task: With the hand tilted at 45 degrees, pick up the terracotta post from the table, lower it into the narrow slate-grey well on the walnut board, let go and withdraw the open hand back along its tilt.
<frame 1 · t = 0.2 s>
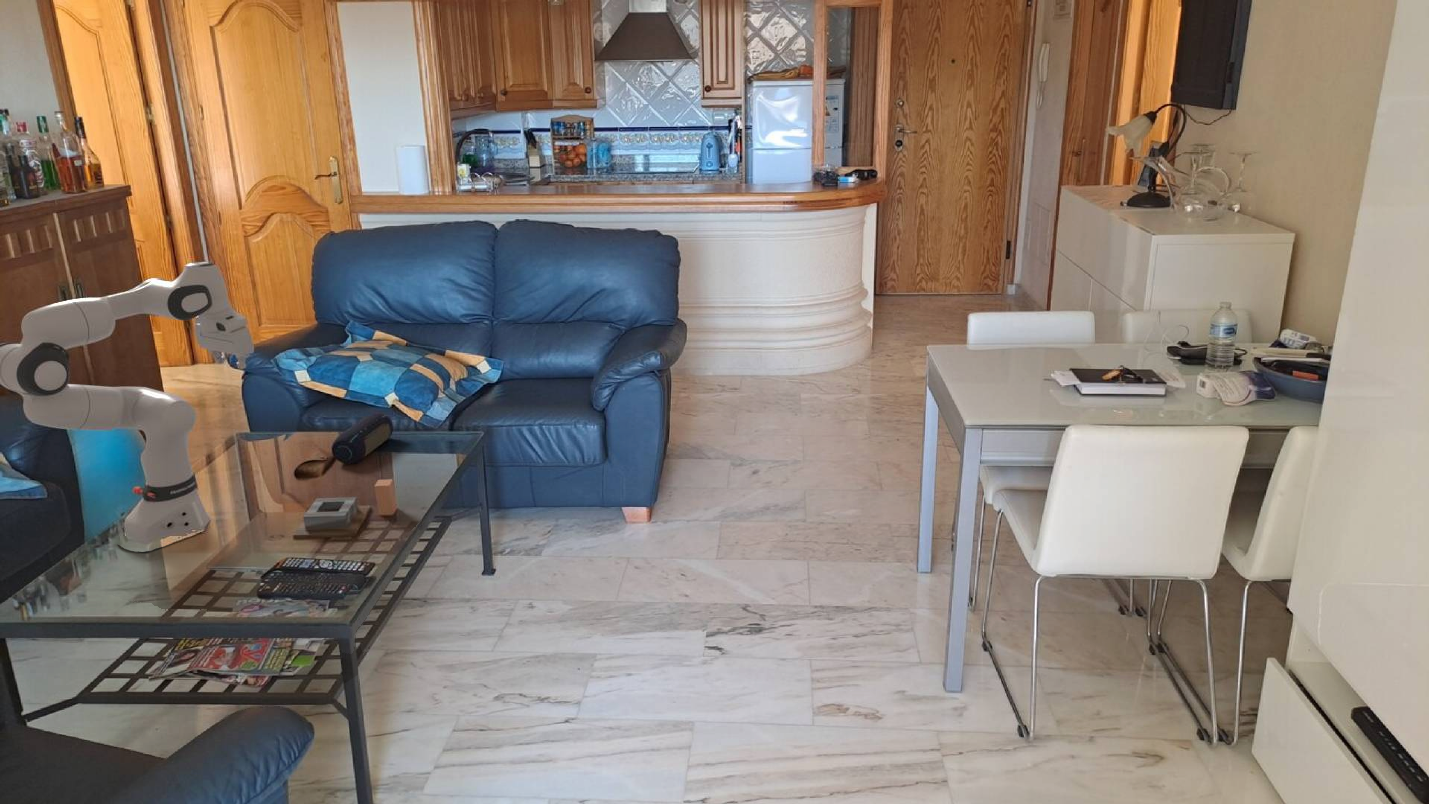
hand: (231, 365, 271), 39 cm above the table, tool pointing down, fingers open, 8 cm apart
sunglasses case: (318, 467, 302), on the table
post: (388, 511, 272), on the table
well: (333, 523, 266), on the table
portable speaker: (366, 452, 312), on the table
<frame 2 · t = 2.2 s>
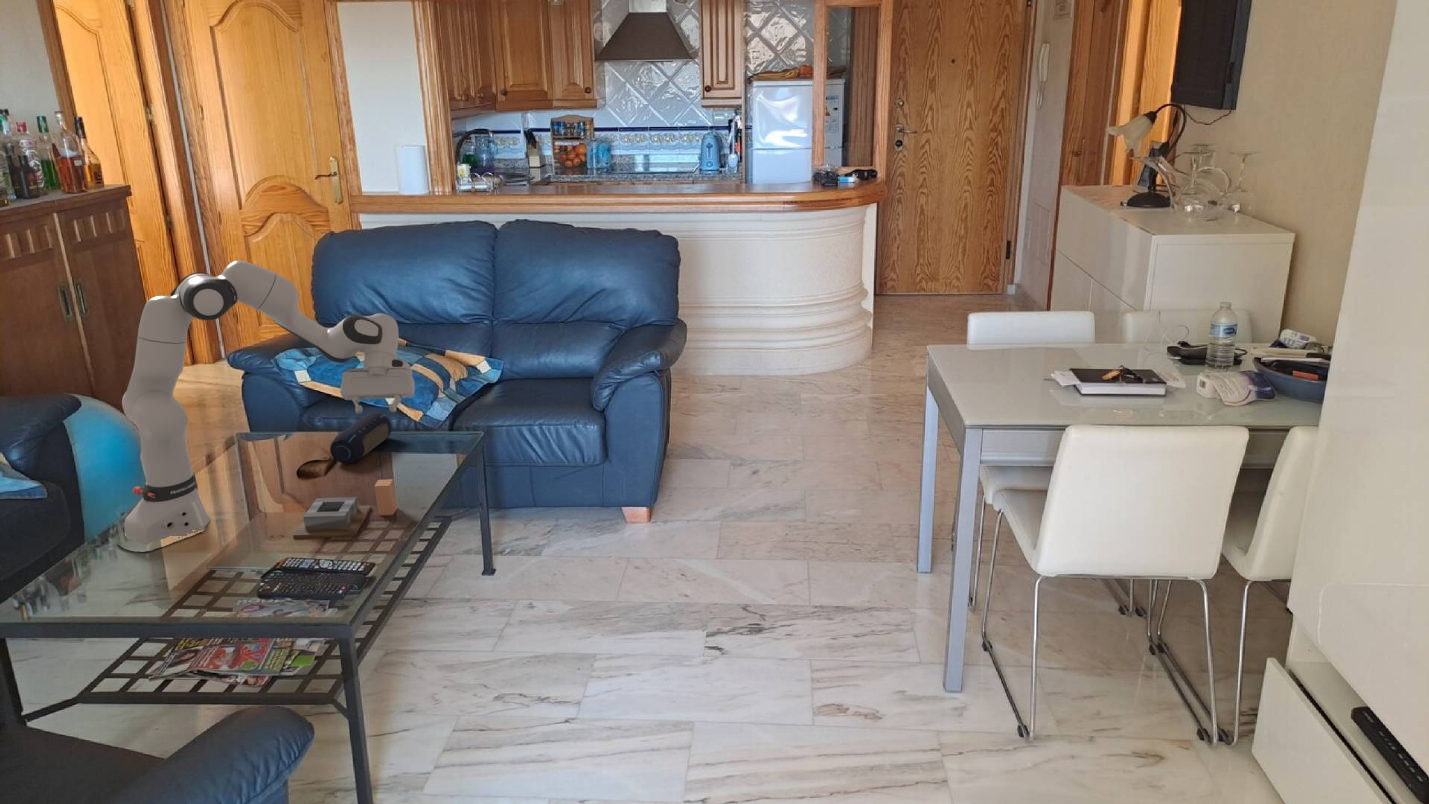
hand: (375, 411, 274), 25 cm above the table, tool tilted 45°, fingers open, 8 cm apart
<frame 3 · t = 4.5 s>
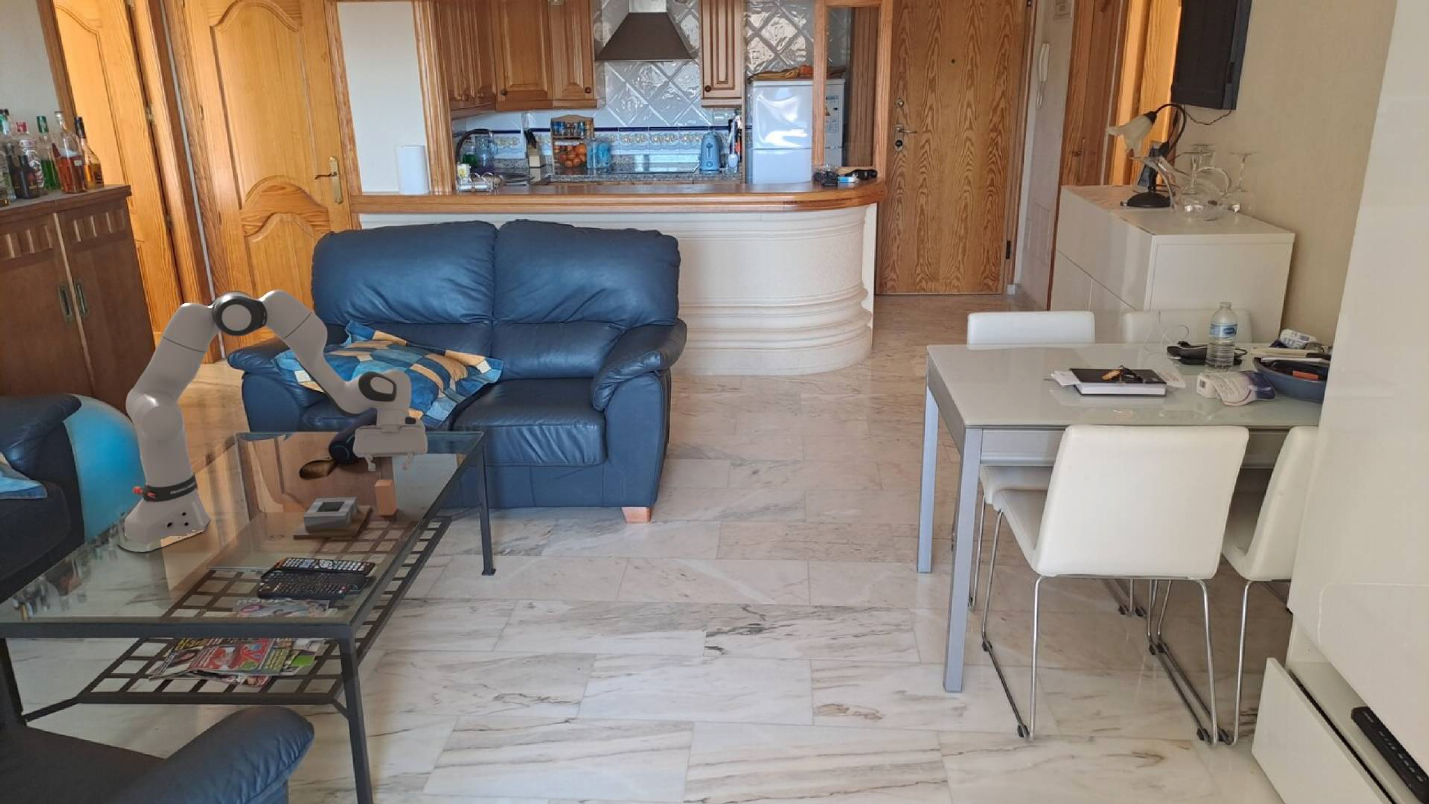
hand: (388, 469, 274), 10 cm above the table, tool tilted 45°, fingers open, 8 cm apart
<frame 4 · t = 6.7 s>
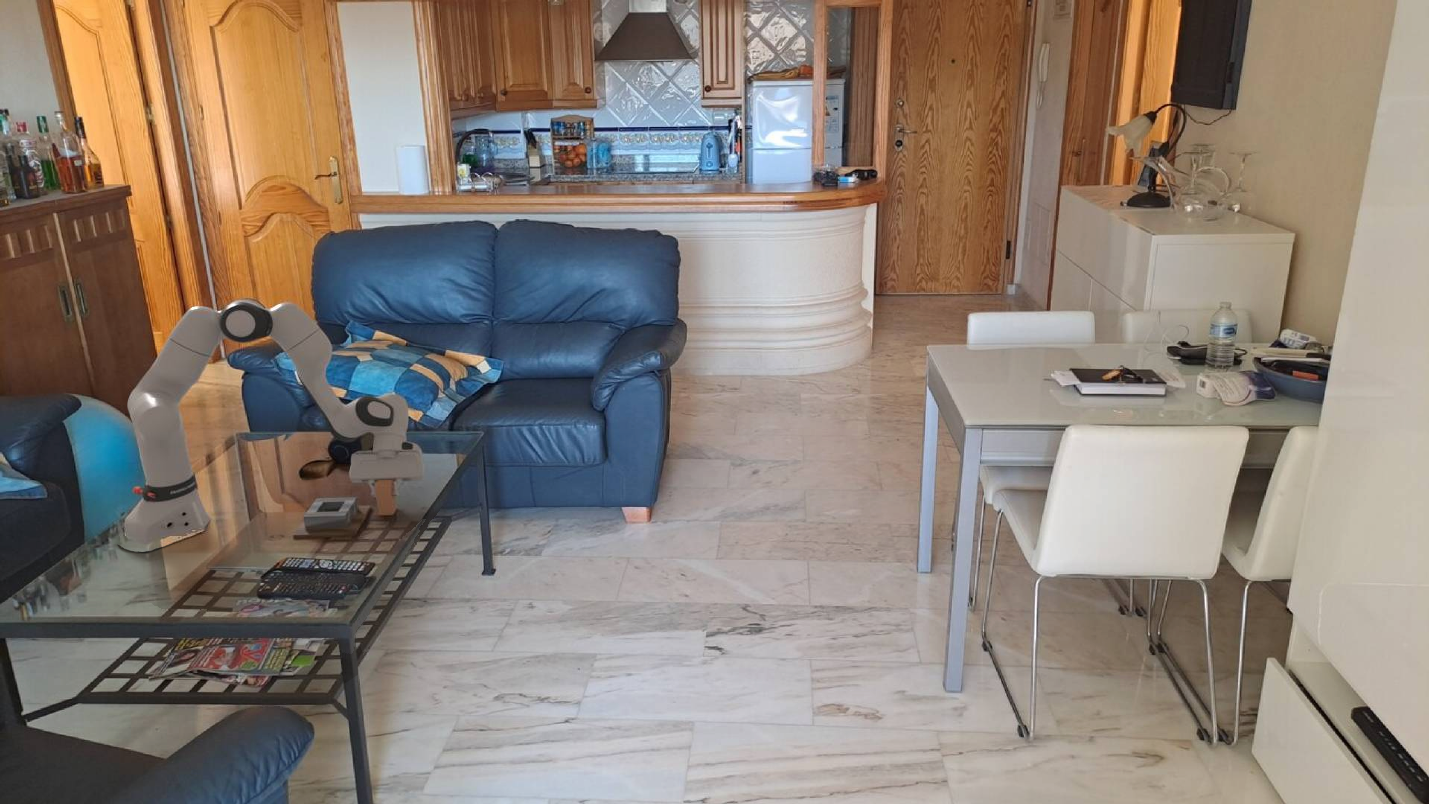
hand: (384, 496, 269), 5 cm above the table, tool tilted 45°, fingers closed on post, 4 cm apart
post: (388, 511, 272), on the table, touching gripper
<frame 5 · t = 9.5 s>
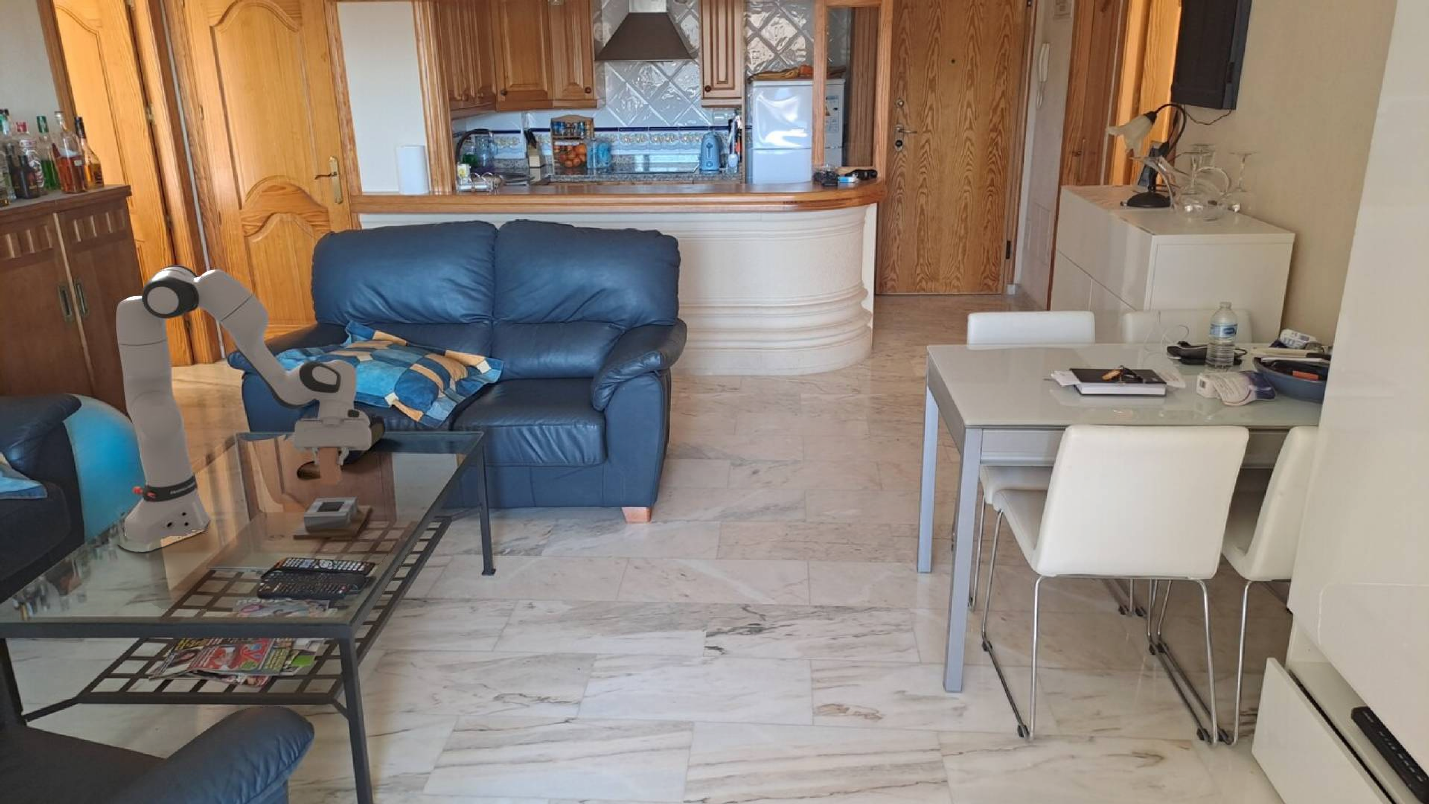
hand: (328, 464, 260), 18 cm above the table, tool tilted 45°, fingers closed on post, 4 cm apart
post: (331, 481, 262), point 12 cm above the table, touching gripper
when the fingers open (8 cm above the table, at t = 12.6 s): post drops 2 cm, resting on well.
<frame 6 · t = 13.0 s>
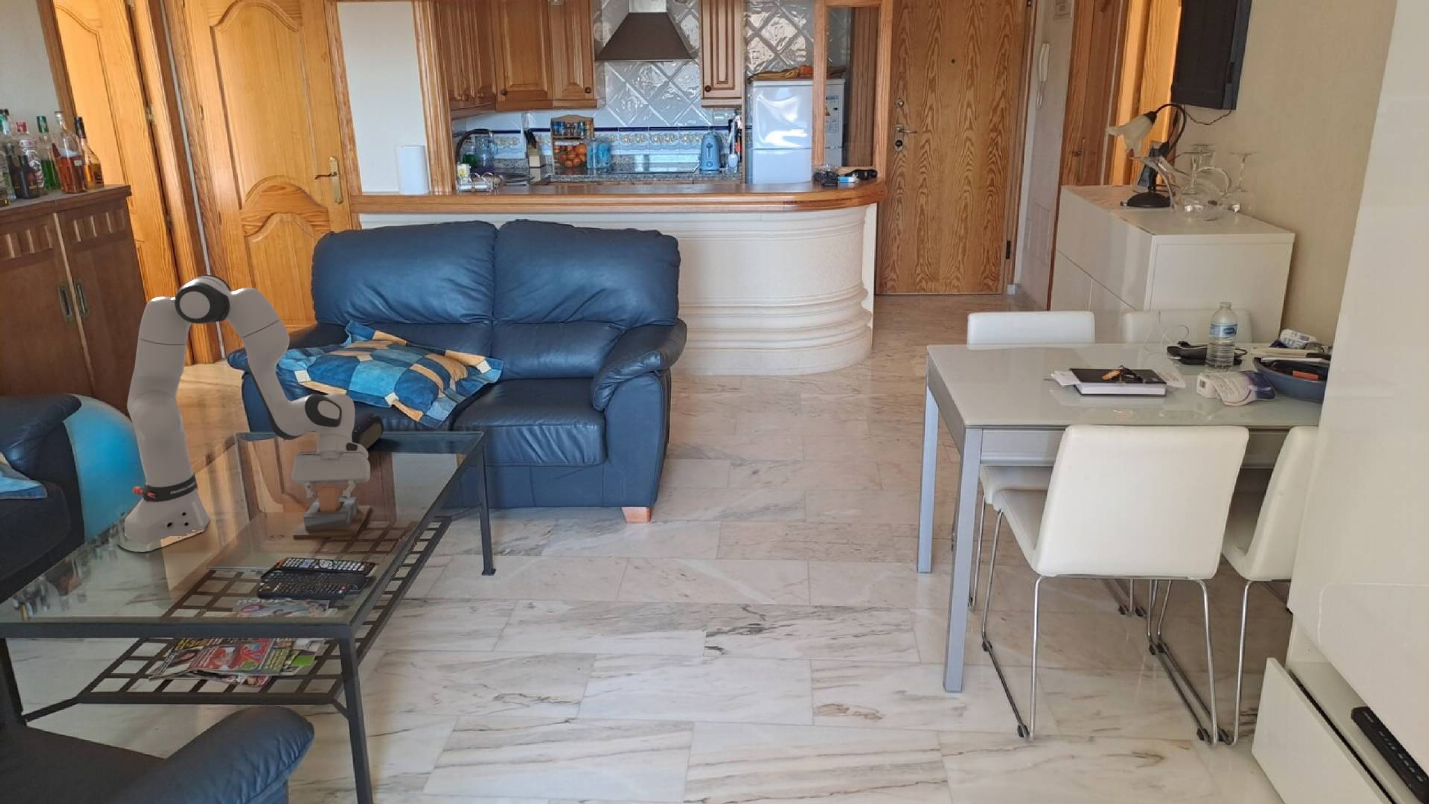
hand: (328, 498, 262), 8 cm above the table, tool tilted 45°, fingers open, 8 cm apart
post: (332, 519, 265), point 1 cm above the table, touching well
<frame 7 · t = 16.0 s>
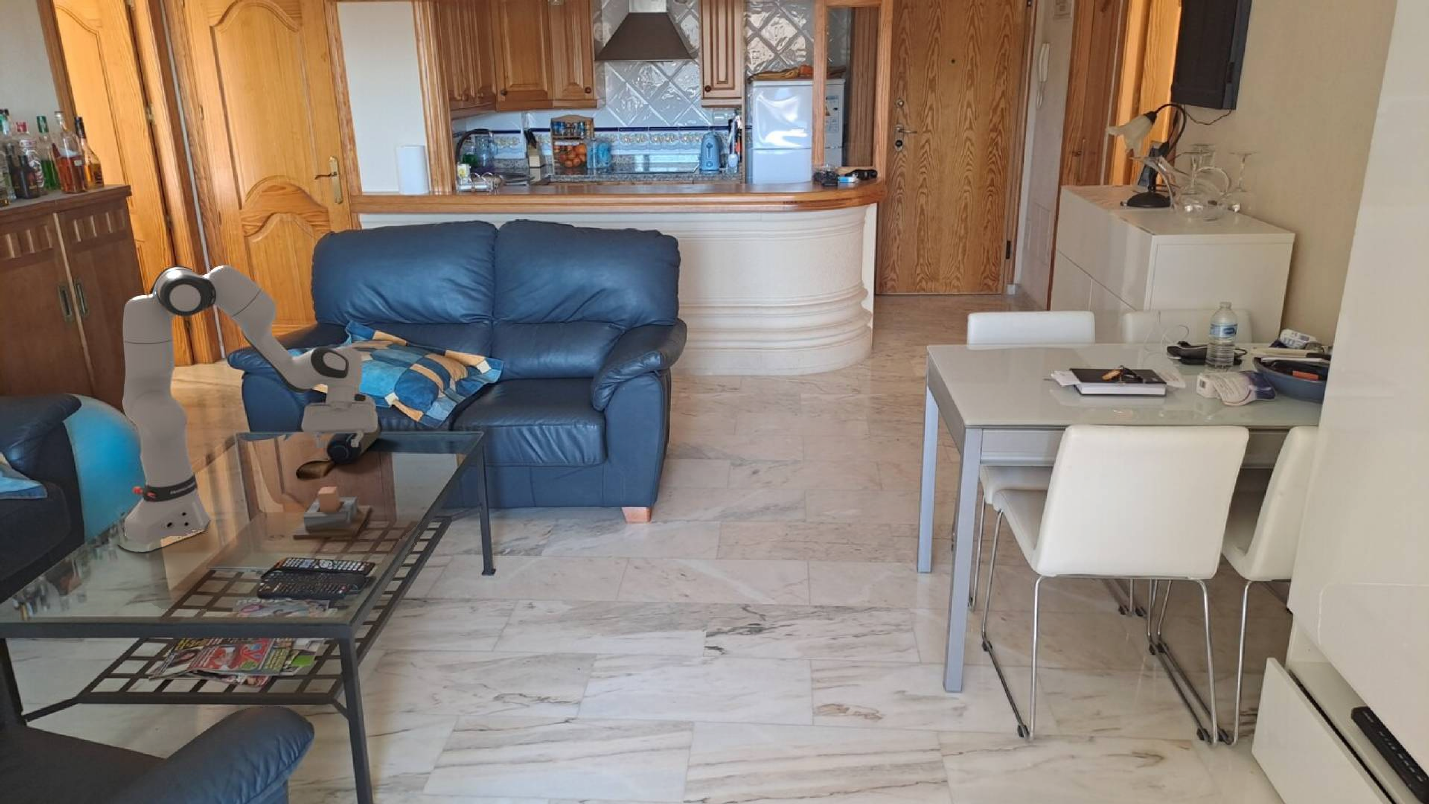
hand: (337, 446, 271), 18 cm above the table, tool tilted 45°, fingers open, 8 cm apart
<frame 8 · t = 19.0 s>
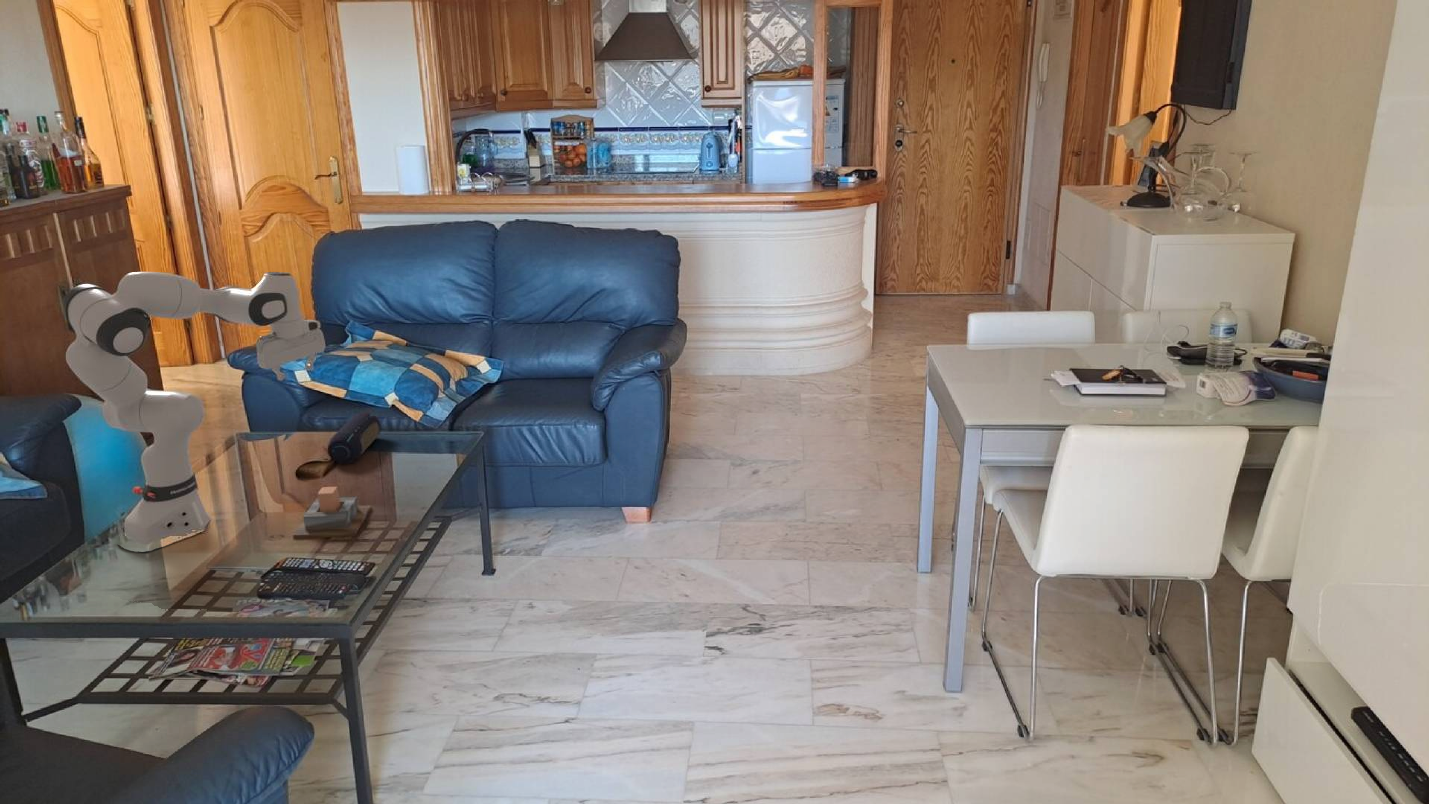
hand: (296, 374, 278), 34 cm above the table, tool pointing down, fingers open, 8 cm apart
at the end: post 0.1 cm off-centre on the well, point 1.0 cm above the well's base; post tilted 0°; the gripper is holding nothing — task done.
